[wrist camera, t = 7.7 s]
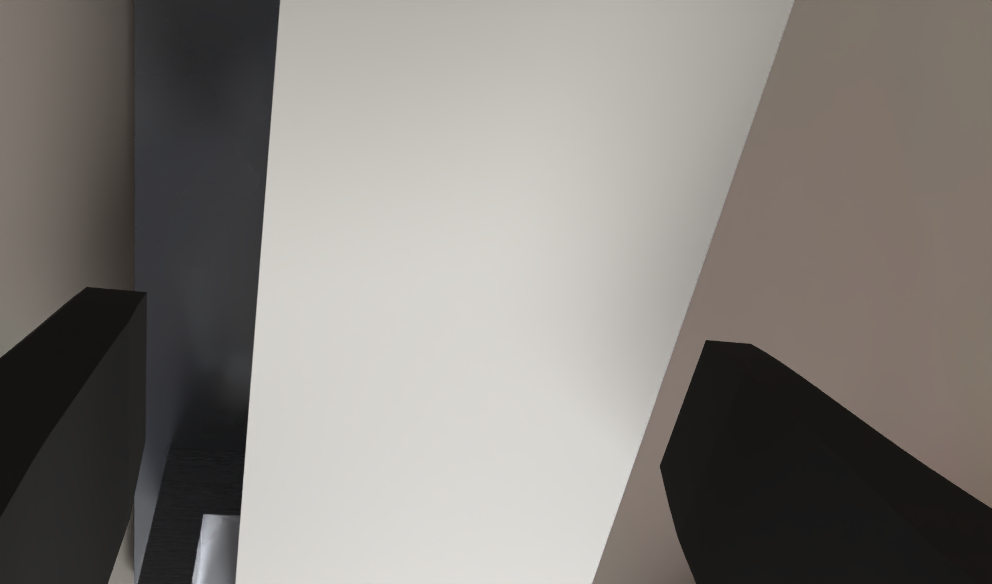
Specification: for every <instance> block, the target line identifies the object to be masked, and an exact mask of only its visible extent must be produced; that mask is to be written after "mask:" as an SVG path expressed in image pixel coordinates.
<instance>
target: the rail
mask: <svg viewBox="0 0 992 584" xmlns="http://www.w3.org/2000/svg"><path fill="white" fill-rule="evenodd" d="M794 1H795V0H280V10H279V23H278V36H277V49H276V62H275V75H274V88H273V101H272V114H271V127H270V140H269V153H268V166H267V179H266V192H265V205H264V218H263V231H262V244H261V257H260V270H259V283H258V296H257V309H256V322H255V335H254V348H253V361H252V374H251V387H250V400H249V413H248V426H247V439H246V452H245V465H244V478H243V491H242V504H241V517H240V530H239V543H238V557H237V570H236V583H235V584H592V582H593V579H594V576H595V573H596V570H597V567H598V565H599V562H600V559H601V556H602V553H603V550H604V547H605V544H606V542H607V539H608V536H609V533H610V530H611V527H612V524H613V521H614V519H615V516H616V513H617V510H618V507H619V504H620V501H621V498H622V496H623V493H624V490H625V487H626V484H627V481H628V478H629V475H630V473H631V470H632V467H633V464H634V461H635V458H636V455H637V452H638V450H639V447H640V444H641V441H642V438H643V435H644V432H645V429H646V426H647V424H648V421H649V418H650V415H651V412H652V409H653V406H654V403H655V401H656V398H657V395H658V392H659V389H660V386H661V383H662V380H663V378H664V375H665V372H666V369H667V366H668V363H669V360H670V357H671V355H672V352H673V349H674V346H675V343H676V340H677V337H678V334H679V332H680V329H681V326H682V323H683V320H684V317H685V314H686V311H687V308H688V306H689V303H690V300H691V297H692V294H693V291H694V288H695V285H696V283H697V280H698V277H699V274H700V271H701V268H702V265H703V262H704V260H705V257H706V254H707V251H708V248H709V245H710V242H711V239H712V237H713V234H714V231H715V228H716V225H717V222H718V219H719V216H720V214H721V211H722V208H723V205H724V202H725V199H726V196H727V193H728V191H729V188H730V185H731V182H732V179H733V176H734V173H735V170H736V167H737V165H738V162H739V159H740V156H741V153H742V150H743V147H744V144H745V142H746V139H747V136H748V133H749V130H750V127H751V124H752V121H753V119H754V116H755V113H756V110H757V107H758V104H759V101H760V98H761V96H762V93H763V90H764V87H765V84H766V81H767V78H768V75H769V73H770V70H771V67H772V64H773V61H774V58H775V55H776V52H777V50H778V47H779V44H780V41H781V38H782V35H783V32H784V29H785V26H786V24H787V21H788V18H789V15H790V12H791V9H792V6H793V3H794Z"/></svg>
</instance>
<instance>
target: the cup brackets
mask: <svg viewBox="0 0 992 584" xmlns="http://www.w3.org/2000/svg"><path fill="white" fill-rule="evenodd" d="M279 10H280V0H135V228H134V291H138V292H147V343H146V441H145V446H144V451H143V456H142V461H141V466H140V471H139V476H138V481H137V486H136V490H135V495H134V584H235V583H236V570H237V557H238V543H239V530H240V517H241V504H242V491H243V478H244V465H245V452H246V439H247V426H248V413H249V400H250V387H251V374H252V361H253V348H254V335H255V322H256V309H257V296H258V283H259V270H260V257H261V244H262V231H263V218H264V205H265V192H266V179H267V166H268V153H269V140H270V127H271V114H272V101H273V88H274V75H275V62H276V49H277V36H278V23H279Z"/></svg>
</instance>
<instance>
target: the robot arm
mask: <svg viewBox="0 0 992 584" xmlns="http://www.w3.org/2000/svg"><path fill="white" fill-rule="evenodd" d="M146 343H147V292H138V291H127V290H115V289H103V288H92V287H86V288H85V289H84V290H82V291H81V292H80V293H78V294H77V295H76V296H74V297H73V298H72V299H71V300H69V301H68V302H67V303H66V304H64V305H63V306H62V307H61V308H60V309H59V310H57V311H56V312H55V313H54V314H53V315H51V316H50V317H49V318H48V319H47V320H46V321H44V322H43V323H42V324H41V325H40V326H38V327H37V328H36V329H35V330H34V331H32V332H31V333H30V334H29V335H28V336H26V337H25V338H24V339H23V340H22V341H20V342H19V343H18V344H17V345H16V346H14V347H13V348H12V349H11V350H9V351H8V352H7V353H6V354H4V355H3V356H2V357H1V358H0V584H108V581H109V578H110V575H111V573H112V570H113V567H114V564H115V561H116V558H117V555H118V552H119V549H120V546H121V543H122V540H123V537H124V534H125V531H126V528H127V525H128V522H129V518H130V514H131V509H132V504H133V500H134V495H135V490H136V486H137V481H138V476H139V471H140V466H141V461H142V456H143V451H144V446H145V441H146ZM660 469H661V473H662V478H663V482H664V486H665V490H666V495H667V499H668V503H669V507H670V511H671V514H672V518H673V522H674V525H675V529H676V532H677V536H678V539H679V542H680V544H681V547H682V549H683V552H684V554H685V557H686V559H687V562H688V564H689V567H690V569H691V572H692V574H693V577H694V579H695V582H696V584H992V508H990V507H989V506H987V505H985V504H984V503H982V502H981V501H979V500H977V499H976V498H974V497H973V496H971V495H970V494H968V493H967V492H965V491H964V490H962V489H961V488H959V487H958V486H956V485H955V484H953V483H952V482H950V481H949V480H947V479H945V478H944V477H942V476H941V475H939V474H938V473H936V472H935V471H933V470H932V469H930V468H929V467H927V466H926V465H924V464H923V463H922V462H920V461H919V460H917V459H916V458H914V457H913V456H911V455H910V454H909V453H907V452H906V451H904V450H903V449H901V448H900V447H898V446H897V445H896V444H894V443H893V442H891V441H890V440H889V439H887V438H886V437H884V436H883V435H882V434H880V433H879V432H877V431H876V430H875V429H873V428H872V427H870V426H869V425H868V424H866V423H865V422H864V421H862V420H861V419H859V418H858V417H857V416H855V415H854V414H853V413H851V412H850V411H848V410H847V409H846V408H844V407H843V406H842V405H840V404H839V403H837V402H836V401H835V400H833V399H832V398H831V397H829V396H828V395H826V394H825V393H824V392H822V391H821V390H820V389H818V388H817V387H815V386H814V385H813V384H811V383H810V382H808V381H807V380H806V379H804V378H803V377H801V376H800V375H799V374H797V373H796V372H794V371H793V370H791V369H790V368H789V367H787V366H786V365H784V364H783V363H781V362H780V361H778V360H777V359H775V358H774V357H772V356H770V355H769V354H767V353H766V352H764V351H762V350H760V349H759V348H757V347H755V346H754V345H752V344H745V343H733V342H722V341H710V340H706V342H705V344H704V347H703V350H702V353H701V355H700V358H699V361H698V363H697V366H696V369H695V372H694V374H693V377H692V380H691V383H690V385H689V388H688V391H687V393H686V396H685V399H684V402H683V404H682V407H681V410H680V413H679V415H678V418H677V421H676V423H675V426H674V429H673V432H672V434H671V437H670V440H669V443H668V445H667V448H666V451H665V453H664V456H663V459H662V462H661V464H660Z"/></svg>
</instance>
